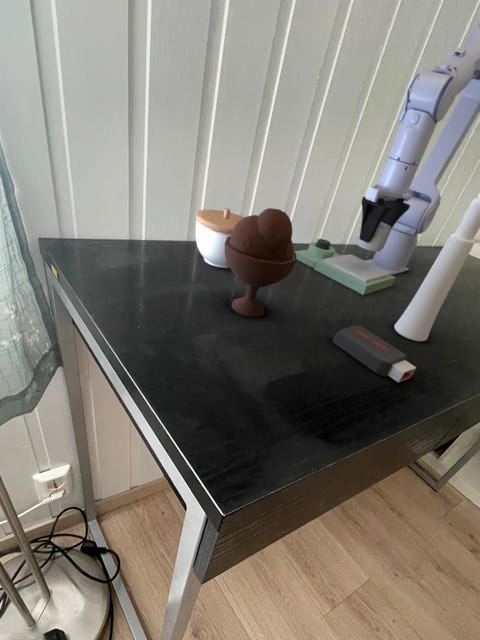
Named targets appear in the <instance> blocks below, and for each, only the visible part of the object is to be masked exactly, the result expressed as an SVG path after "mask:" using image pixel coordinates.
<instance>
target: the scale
mask: <svg viewBox="0 0 480 640" xmlns="http://www.w3.org/2000/svg"><path fill="white" fill-rule="evenodd" d="M313 270H314V271H316V272H318V273H320V274H322V275H324V276H326V277H328V278H330V279H331V280H333V281H335V282H338V283H339V284H340V285H343V286H345V287H347V288H348V289H351V290H353V291H355V292H356V293H358V294H361V295H362V296H364V295H368V294H371V293H374V292H377V291H380V290H383V289H386V288H390V287H392V286H393V284H394V282H395V280H396V276H394V275H391V273H389V272H387V271H385V270H383V269H381V268H379V267H377V266H375V265H372V264H370V263H368V262H366V261H365V260H364V259H361V258H360V257H358V256H356V255H354V254H351V253H350V254H343V255H342V256H337V257H332V258H326V259H322V260H317V261H316V264H315V267H314V268H313Z"/></svg>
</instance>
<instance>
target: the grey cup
mask: <svg viewBox="0 0 480 640" xmlns="http://www.w3.org/2000/svg"><path fill="white" fill-rule="evenodd" d="M391 229H392V227H391V226H390V225H388V224H386V223H383V222H381V223H380V224H379V226H378V228H377V230H376V232H375V234H374V236H373V238H372V239H371V241H370V242H369V243H367V242H365V241H362V240H360V239H359V238H360V231H361V229H359V231H358V232H359V233H358V235H357V238H356V245H357V246H359V247H360V248H362V249H363V250H367V251H370V252H375V253H376V252H380V251H381V249H383V248H384V246H385V243H386V241H387V239H388V236H389V234H390V232H391Z"/></svg>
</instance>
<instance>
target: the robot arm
mask: <svg viewBox="0 0 480 640" xmlns="http://www.w3.org/2000/svg"><path fill="white" fill-rule="evenodd" d="M459 94H460V99H459V101H458V103H457V104H456V106H455V107H454V110H452V112H451V115H450V116H449V118H448V120H447V122H446V124H445V126H444V127H443V128H442V130H441V132H440V135H439V136H438V138H437V140H436V142H435V143H434V144H433V147H432V149H431V150H430V152H429V154H428V156H427V158H426V159H425V161H424V163H423V164H422V167H421V168H420V170H419V172H418V174H417V175H416V173H417V171H418V169H419V167H420V164H421V161H422V159H423V157H424V156H425V155H424V154H425V153H426V150H427V149H428V145H429V143H430V141H431V138H432V136H433V134H434V132H435V128H436V127H437V126H438V122H441V121H443V120H444V118H445V116H446V115H447V114H448V112H449V110H450V108H451V106H452V105H453V104H454V102H455V100H456V97H457V96H458V95H459ZM402 106H403V107H402V111H401V114H400V117H399V119H398V126H399V128H398V130H397V133H396V135H395V137H394V141H393V144H392V146H391V149H390V152H389V154H388V157H387V160H386V162H385V165H384V167H383V169H382V173H381V175H380V178H379V181H378V183H377V184H374V185H373V186H369V187H368V190H367V192H366V195H365V196H362V198H361V209H362V210H361V211H362V212H361V215H362V216H361V227H360V230H361V231H360V230H359V232H360V238H359V239H360V240H362V241H365V242H367V243H369V242H370V241H371V239H372V238H373V236H374V234H375V232H376V230H377V228H378V226H379V224H380V223H381V222H383V223H386V224H388V225H390V226H391V227H392V229H391V232H390V234H389V236H388V239H387V241H386V243H385V246H384V248H383V249H381V251H380V252H375V253H374V255H373V258H370V259H365V260H364V261H366V262H368V263H370V264H372V265H375V266H377V267H379V268H381V269H383V270H385V271H387V272H389V273H391V275H392V276H394V275H397V274H400V273H404V272H408V271H409V270H410V268H409V267H407V265H408V263H409V262H410V259H411V257H412V255H413V254H414V251H415V250H416V247H417V245H418V242H419V237H418V235H420V234H423V233H425V232H426V231H427V230H428V228H429V227H430V226H431V224H432V222H433V220H434V218H435V215H436V214H437V211H438V209H439V207H440V206H441V199H442V196H441V193H440V191H439V189H438V187H437V186H438V184H439V182H440V181H441V179H442V178H443V175H445V172H446V170H447V168H448V167H449V165H450V163H451V162H452V160H453V158H454V156H455V155H456V154H457V151H458V150H459V148H460V146H461V145H462V143H463V142H464V140H465V137H466V136H467V134H468V132H469V131H470V129H471V128H472V125H473V124H474V122H475V120H476V119H477V117H478V115H479V114H480V22H478V23H477V24H476V25H474V27H473V28H472V29H471V30H470V32H469V34H468V36H467V37H466V40H465V42H464V45H463V47H457V48H455V50H453V52H451V53H450V54H449V55H448V56H446V57H445V58H444V59H443V60H442V61H441V62H440V63H438V65H436V66H435V67H434V68H433V69H431V70H427V69H426V70H422V71H421V72H420V73H419V72H418V73H417V74H416V75H415V76H414V77H413V79H412V81H411V83H410V85H409V86H408V88H407V90H406V93H405V96H404V100H403V105H402ZM415 175H416V176H415Z"/></svg>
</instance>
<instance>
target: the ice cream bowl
mask: <svg viewBox="0 0 480 640" xmlns="http://www.w3.org/2000/svg"><path fill="white" fill-rule="evenodd" d="M243 217H244V218H243V219H241V220H240V221H238V223H237V224H236V225H235V226H234V229H233V232H232V235H231V236H230V237H227V239H226V241H225V257H226V261H227V264H228V266H229V267H230V268H229V269H230V270H231V272H232V273H233V274H234V275H235V276H236V277H237V278H238V280H240V281H241V282H242V283H244V284H245V285H246V291H245V296H242V297H238V298H235V299H234V300H233V301H232V303H231V308H232V309H233V310H234V311H235V312H236V313H237V314H240V315H242V316H246V317H256V318H258V317H261V316H263V315H265V314H264V313H265V306H264V305H263V304H262V303H261V302H259V300H258V299H257V294H258V291H259V289H260V288H264V287H268V286H272V285H274V284H278V283H279V282H281V281H283V280H284V279H286V278H287V277H288V276H289V275H290V274H291V272H292V271H293V269H294V267H295V265H296V264H297V261H298V260H297V259H296V253H295V251H294V243H293V240H292V237H293V223H292V220H291V218H290V217H289V215H288V214H287V213H286V212H285V211H283V210H281V209H279V208H273V207H272V208H271V207H269V208H265V209H264V210H263V211H262V212H260V213H259V215H258V214H257V215H256V214H251V215H249V216H248V215H247V216H243Z"/></svg>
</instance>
